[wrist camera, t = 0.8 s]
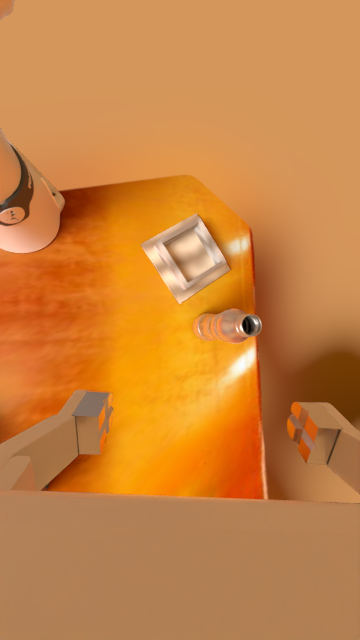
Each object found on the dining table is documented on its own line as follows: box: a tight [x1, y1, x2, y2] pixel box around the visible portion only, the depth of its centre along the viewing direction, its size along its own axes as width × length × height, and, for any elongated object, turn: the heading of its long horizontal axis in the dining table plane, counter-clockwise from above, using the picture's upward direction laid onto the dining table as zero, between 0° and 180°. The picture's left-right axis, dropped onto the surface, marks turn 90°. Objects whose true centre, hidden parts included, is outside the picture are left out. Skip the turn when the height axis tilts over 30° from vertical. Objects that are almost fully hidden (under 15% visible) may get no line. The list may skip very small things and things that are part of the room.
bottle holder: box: [141, 213, 230, 304], centre depth 50 cm, size 16×16×4 cm
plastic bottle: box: [193, 308, 262, 344], centre depth 43 cm, size 6×7×20 cm
